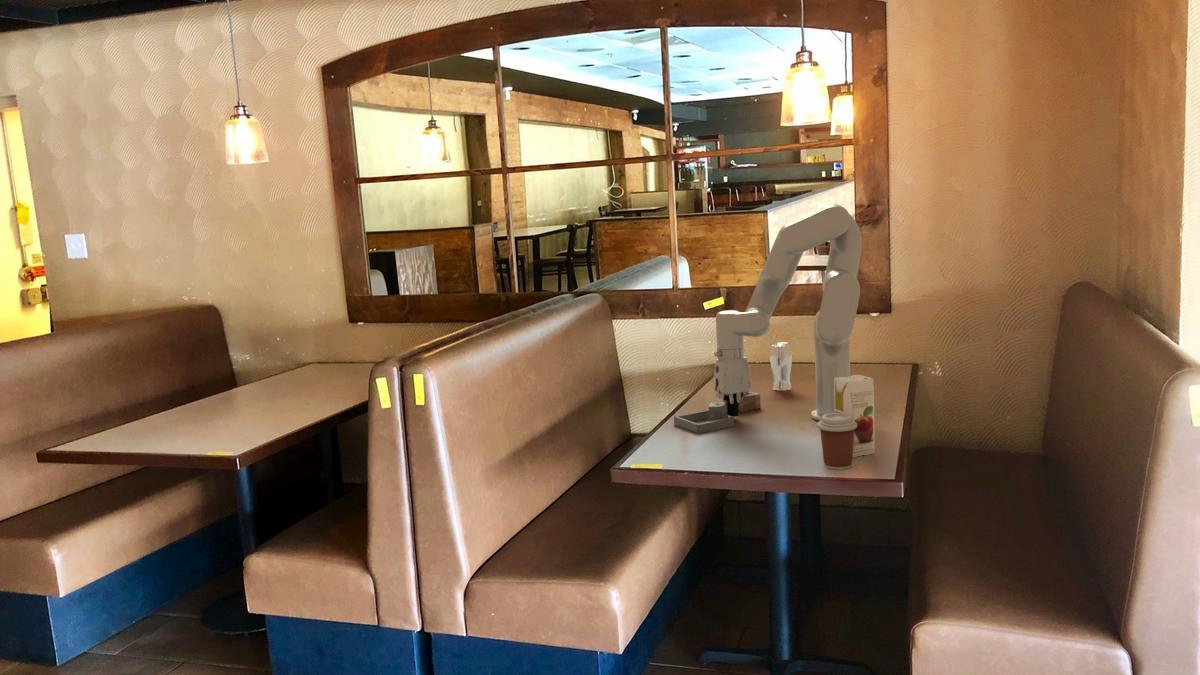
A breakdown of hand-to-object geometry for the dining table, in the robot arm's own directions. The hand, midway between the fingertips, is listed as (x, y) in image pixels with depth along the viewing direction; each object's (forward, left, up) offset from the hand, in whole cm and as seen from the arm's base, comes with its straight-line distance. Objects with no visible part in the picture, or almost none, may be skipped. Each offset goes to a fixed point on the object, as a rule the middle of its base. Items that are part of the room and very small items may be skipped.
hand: (733, 415), depth 265 cm
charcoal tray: (0, +10, -1) cm, 10 cm away
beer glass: (+21, -35, -1) cm, 41 cm away
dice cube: (+1, +5, -1) cm, 5 cm away
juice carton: (-47, -3, -1) cm, 47 cm away
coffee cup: (-52, +7, -1) cm, 53 cm away
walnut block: (+9, -10, -1) cm, 13 cm away
